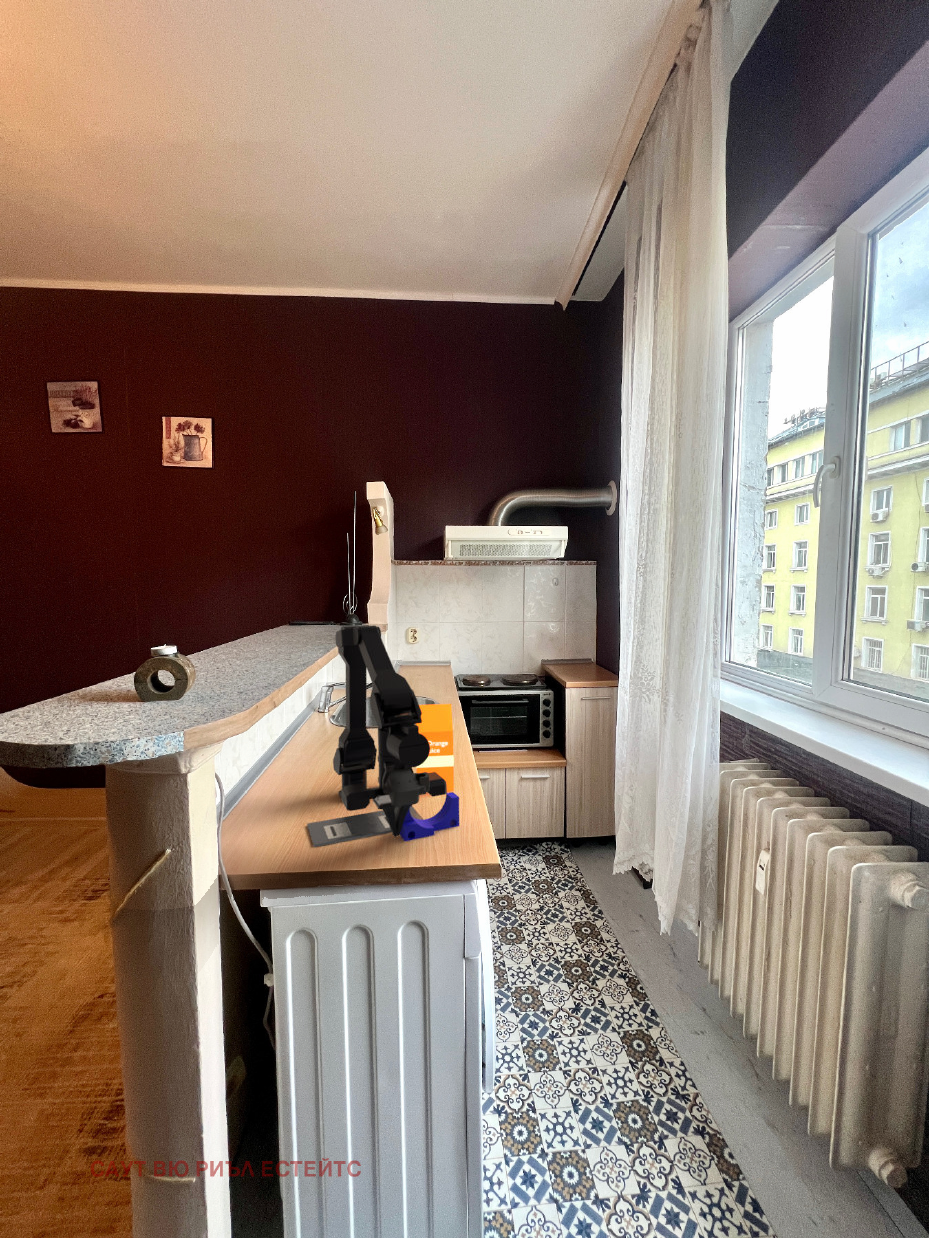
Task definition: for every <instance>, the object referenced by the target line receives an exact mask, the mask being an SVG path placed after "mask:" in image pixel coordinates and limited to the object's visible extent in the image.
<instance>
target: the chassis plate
mask: <svg viewBox="0 0 929 1238" xmlns="http://www.w3.org/2000/svg"><path fill="white" fill-rule="evenodd" d="M409 810H410V814H411V816H412V817H413V818H416V819H420V820H424V819H425V818H423V817H422V816H421V814H420V813H419V812H418V811H417V810H416V808H415V807H414V806H413V805H412V806H411V807H410V808H409ZM306 825H307V829H308V832H309V835H310V839H311V843H312V846H313V848H318V847H324V846H327V845H328V846H329V845H334V844H338V843H339V844H340V843H344V842H349V841H353V840H354V841H355V840H359V839H364V838H370V837H376V836H380V835H386V834H390V833H392V831H391V829H390V826H389V823H388V821H387V818H386V816H385V813H384V811H383V809H382V810H377V811H371V812H366V813H359V814H354V815H349V816H343V817H337V818H332V819H325V820H319V821H312V822H309V823H308V822H307V824H306Z"/></svg>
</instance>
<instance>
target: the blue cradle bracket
mask: <svg viewBox="0 0 929 1238" xmlns="http://www.w3.org/2000/svg"><path fill="white" fill-rule="evenodd" d="M423 819H424V820H420V819H416V818H413V817H412V816H411V814H410V810H408V812H407V814H406V817H405V820H404V823H403V826H402V829H401V832H400V835H399V836H400V838H401V839H402V840H403V841H404V842H409V841H414V840H415V841H416V840H418V839H422V838H428V837H433V836H435V832H439V831H443V830H447V829H451V828H457V827H460V796H459V795H457V794H456V793H455V792H454V791H450V792H447V793H446V794H445V799H444V803H443V805H442V807H441V809H440V810H438V812H437V813H436V814H434V815H433V816H431V817H429V818H423Z"/></svg>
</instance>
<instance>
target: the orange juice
mask: <svg viewBox="0 0 929 1238" xmlns="http://www.w3.org/2000/svg"><path fill="white" fill-rule="evenodd" d="M419 706H420V709H421V712H422V715H421V719H422V723H418V724H415V725H417V726H418V727H419V733H420V734H422V735H424V736H425V737H426V738H427V740H428V742H429V745H430V753H429V756H428V758H427V759H426V761H425V762H424V763H423V764H421V765H420V766H417V767H415V769H416V773H422V772H427V773H431V772H436V773H437V774H438V775H440V776H441V777H442V778H443V779H444V780H445V781H446V784H447V792H455V788H454V787H455V783H454V781H455V780H454V779H455V777H454V776H455V775H454V771H455V770H454V769H455V768H454V766H455V765H454V761H455V760H454V758H455V755H454V727H453V712H452V711H453V710H452V708H453V707H452V704H451V703H439V704H438V703H437V704H419Z"/></svg>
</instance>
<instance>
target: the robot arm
mask: <svg viewBox="0 0 929 1238" xmlns="http://www.w3.org/2000/svg"><path fill="white" fill-rule="evenodd" d="M335 645H336V648H337V652H338V655H339V656H340V658H341V660H342V661H343V662H344V665H345V727H344V729H343V730H342V732H341V734H340V735H339V737H338V742H337V743H338V746H337V747H336V750H335V752H334V756H333V759H332V764H333V765H332V766H333V770H334V772H336V774H337V775H338V776H341V790H338V795H339V798H340V800H341V802H342V804H343V806H344V807H345V809H346V811H349V812H353V811H358V810H364V809H367V807H368V806H369V805H370V804H371V800H372V801H373V804H375V807H377V809H378V810H380V811H382V810H383V811H384V813H385V816H386V818H387V821H388V823H389V826H390V829H391V831H392V832H391V833H392V836H393V837H394V838H397V837H399V836H400V832H401V829H402V826H403V823H404V820H405V817H406V814H407V812H408V810H409V808H410V807H411V806H413V805H416V804H419V801H420V796H424V795H427V794H429V795H430V796H431V797H432V798H433V797H438V796H444V795H445V796H446V793H448V791H447V784H446V781H445V780H444V779H443V778H442V777H441V776H440V775H438V774H437V773H436V772H431V773H427V772H422V773H417V772H414V770H413V768H416V767H417V766H420V765H421V764H423V763H424V762H425V761H426V759H427V758H428V756H429V753H430V745H429V742H428V740H427V738H426V737H425V736H424V735H422V734H420V733H419V727H418V726H417V725H416V724H418V723H422V719H421V715H422V712H421V709H420V706H419V705H420V704H419V702H418V698H417V696H416V694H415V691H414V690H413V689H412V688H411V686H410V684H409V682H408V681H407V678H405V677H404V676H402V675H401V674H399V673H397V671H396V670H395V668H394V665H393V662H392V661H391V659H390V655H389V653H388V652H387V651H388V650H387V649H386V646H385V644H384V641H383V639H382V631H381V628H380V626H377V625H374V624H373V625H369V624H365V625H364V624H363V625H360V624H359V625H341V627H340V629H339V630H337V631H336V632H335ZM367 673H368V674H369V678H370V680H371V683H372V689H371V692H370V697H369V704H370V710H371V712H372V715H373V717H374V720H375V723H376V725H377V739H378V740H377V743H378V745H377V747H376V745H375V739H374V738H373V736H372V735H371V734H370V732H369V730H368V729H367ZM377 753H378V755H377ZM376 760H377V762H378V777H377V783H378V786H375V787H369V788H368V779H367V778H368V776H367V775H368V773H367V771H369V770H370V771H371V770H375V767H376Z"/></svg>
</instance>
